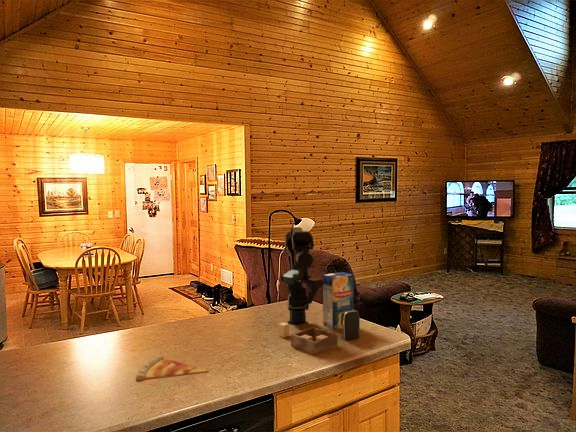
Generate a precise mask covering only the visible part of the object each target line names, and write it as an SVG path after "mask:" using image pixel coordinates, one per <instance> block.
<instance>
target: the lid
mask: <svg viewBox="0 0 576 432" xmlns="http://www.w3.org/2000/svg"><path fill="white" fill-rule="evenodd" d="M277 329H278V331H277V333H278V334H277V335H278V336H279V337H281V338H286V337H289V336H290V323H287V322H285V321H284V322H280V323H278V324H277Z"/></svg>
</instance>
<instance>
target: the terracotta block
mask: <svg viewBox="0 0 576 432" xmlns="http://www.w3.org/2000/svg"><path fill="white" fill-rule="evenodd" d="M300 337H303V338H306V339H309V340H312V337H311V336H308V335H303V336H300Z"/></svg>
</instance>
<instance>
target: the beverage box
mask: <svg viewBox="0 0 576 432" xmlns="http://www.w3.org/2000/svg"><path fill="white" fill-rule="evenodd" d="M354 276H355V275H354V274H352V273H348V272H344V271H339V272H334V273H328V274H322V280H323V281H324V286H322V325H323V326H324V327H326V328H329V329H330V330H337V329H341V330H343V325H342V324H341V314H342V312H343V311H347V310H354V288H355V287H354V284H355V283H354V282H355V281H354V279H355V277H354Z"/></svg>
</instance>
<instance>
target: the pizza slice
mask: <svg viewBox="0 0 576 432" xmlns="http://www.w3.org/2000/svg"><path fill="white" fill-rule="evenodd" d="M201 373H202V374H203V373H210V370H208V369H205V368H201V367H196V366H193V365H190V364H186V363H182V362H179V361H175V360H171V359H167V358H165V357H164V356H163V355H162V354H159V355H156V356H155V357H153V358H151V359H150V360H148V361H147V362H146V363H145V364H143V365H142V367H140V368H139V369H138V372H137V373H136V374H135V381H143V380H150V379H152V380H153V379H159V378H165V377H166V378H167V377H177V376H185V375H193V374H201Z"/></svg>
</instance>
